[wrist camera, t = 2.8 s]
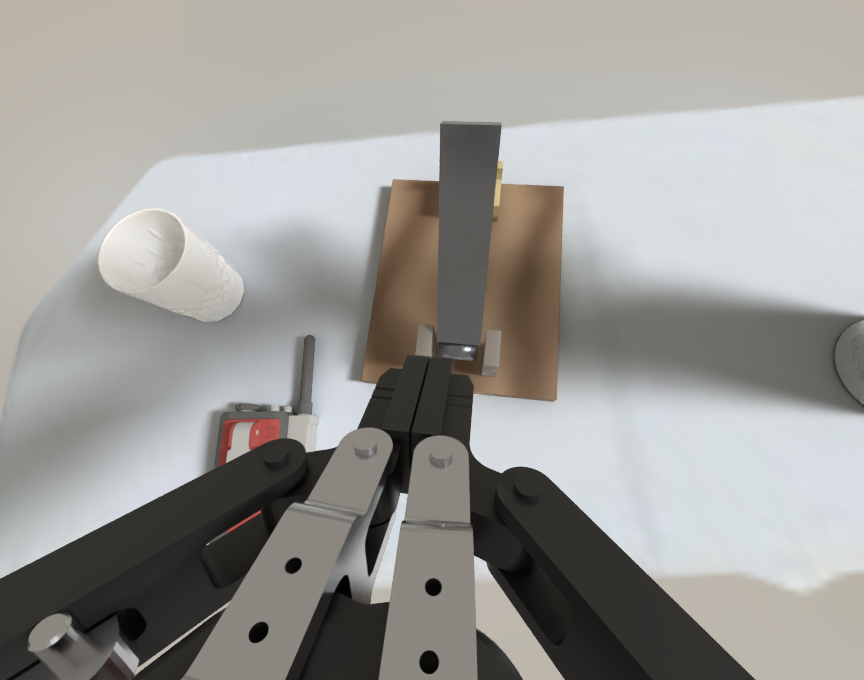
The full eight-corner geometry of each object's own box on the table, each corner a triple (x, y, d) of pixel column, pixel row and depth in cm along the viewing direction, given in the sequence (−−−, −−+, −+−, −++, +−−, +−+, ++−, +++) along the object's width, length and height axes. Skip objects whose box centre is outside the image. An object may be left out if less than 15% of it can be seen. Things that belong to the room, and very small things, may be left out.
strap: (501, 121, 24) (501, 125, 23) (479, 353, 35) (478, 365, 33) (443, 120, 25) (439, 124, 23) (438, 349, 35) (436, 362, 34)
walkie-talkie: (312, 552, 35) (325, 338, 41) (291, 567, 31) (308, 326, 36) (219, 551, 36) (243, 341, 41) (186, 566, 32) (218, 329, 37)
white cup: (194, 255, 44) (118, 203, 34) (259, 264, 43) (199, 213, 33) (170, 322, 42) (82, 285, 33) (237, 333, 41) (167, 299, 32)
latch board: (560, 195, 42) (576, 151, 36) (553, 401, 37) (570, 392, 30) (395, 188, 44) (383, 145, 38) (365, 382, 39) (345, 370, 32)
